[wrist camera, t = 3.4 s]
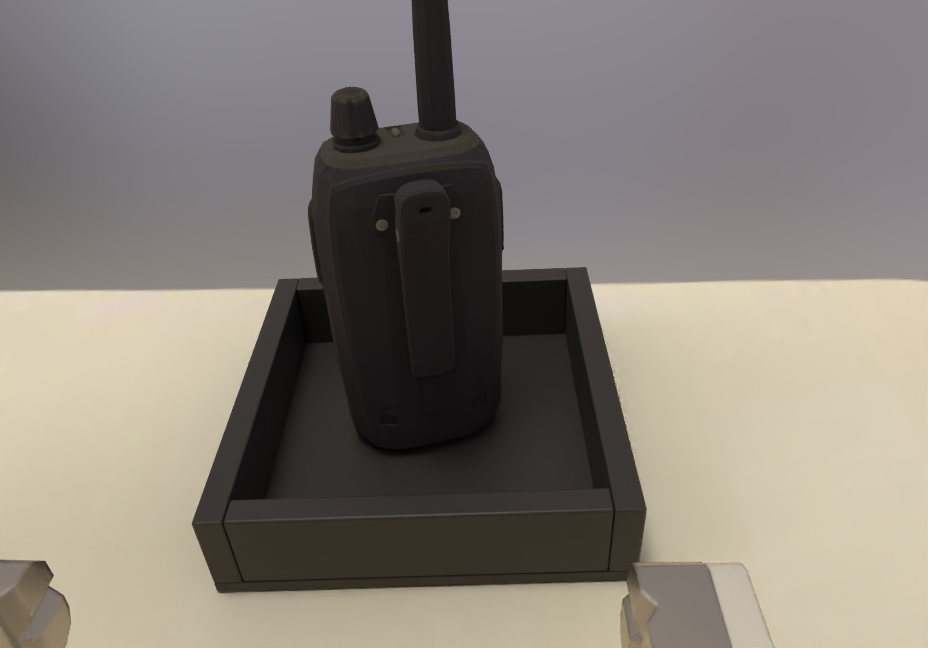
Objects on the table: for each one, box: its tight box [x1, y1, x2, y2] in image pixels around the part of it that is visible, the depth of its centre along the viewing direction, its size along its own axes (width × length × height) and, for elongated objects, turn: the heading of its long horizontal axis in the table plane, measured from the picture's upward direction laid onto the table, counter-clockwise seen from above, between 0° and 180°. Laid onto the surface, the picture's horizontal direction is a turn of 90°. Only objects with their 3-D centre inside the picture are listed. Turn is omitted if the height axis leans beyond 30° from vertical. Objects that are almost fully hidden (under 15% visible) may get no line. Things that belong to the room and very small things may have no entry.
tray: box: [192, 267, 647, 592], centre depth 25 cm, size 12×12×3 cm
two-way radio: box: [308, 0, 504, 449], centre depth 21 cm, size 6×4×15 cm
